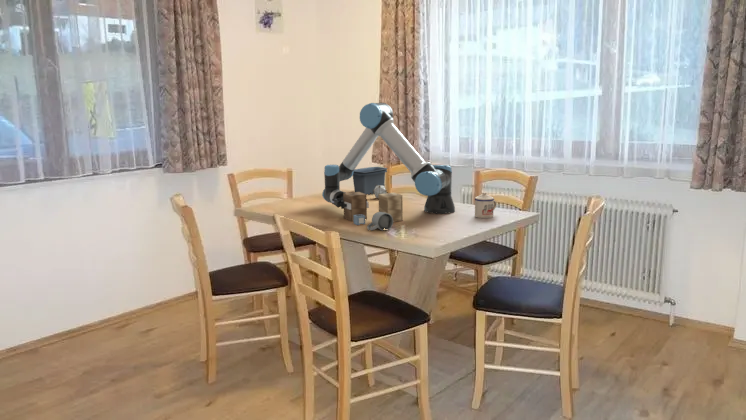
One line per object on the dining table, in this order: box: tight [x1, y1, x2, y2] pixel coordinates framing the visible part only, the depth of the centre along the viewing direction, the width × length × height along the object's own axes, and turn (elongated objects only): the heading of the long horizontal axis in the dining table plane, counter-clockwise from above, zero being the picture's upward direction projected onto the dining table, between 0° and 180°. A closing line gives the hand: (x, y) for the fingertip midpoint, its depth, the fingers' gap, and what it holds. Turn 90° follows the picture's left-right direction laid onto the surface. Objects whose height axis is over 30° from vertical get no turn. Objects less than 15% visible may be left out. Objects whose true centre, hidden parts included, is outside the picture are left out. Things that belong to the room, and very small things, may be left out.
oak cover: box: [378, 192, 404, 223], centre depth 282 cm, size 8×8×12 cm
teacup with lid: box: [474, 191, 497, 219], centre depth 288 cm, size 12×9×12 cm
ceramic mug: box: [366, 211, 394, 231], centre depth 264 cm, size 11×8×8 cm
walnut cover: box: [343, 191, 368, 222], centre depth 286 cm, size 8×8×12 cm
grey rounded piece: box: [372, 184, 389, 200], centre depth 338 cm, size 9×8×10 cm
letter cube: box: [353, 214, 366, 226], centre depth 276 cm, size 4×4×4 cm
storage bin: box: [352, 166, 388, 196], centre depth 358 cm, size 21×16×14 cm
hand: (359, 205), depth 282 cm, fingers closed on walnut cover, 8 cm apart
